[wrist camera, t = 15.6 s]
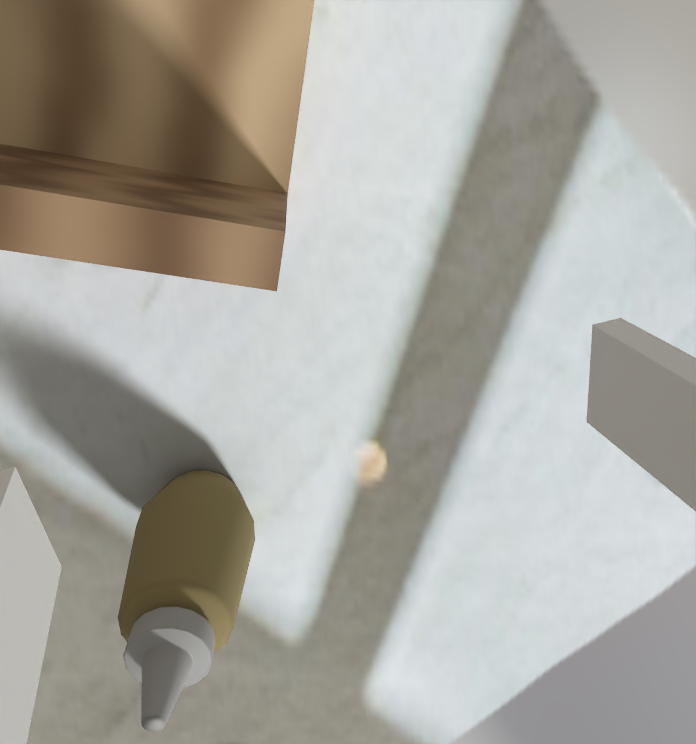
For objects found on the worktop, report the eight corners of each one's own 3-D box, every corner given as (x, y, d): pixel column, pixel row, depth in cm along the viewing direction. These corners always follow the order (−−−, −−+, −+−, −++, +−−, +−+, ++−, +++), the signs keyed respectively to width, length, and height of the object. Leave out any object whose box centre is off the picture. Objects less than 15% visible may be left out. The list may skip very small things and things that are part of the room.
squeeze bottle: (128, 517, 46) (37, 747, 30) (180, 436, 44) (113, 637, 28) (224, 560, 49) (189, 796, 32) (278, 485, 46) (270, 699, 30)
